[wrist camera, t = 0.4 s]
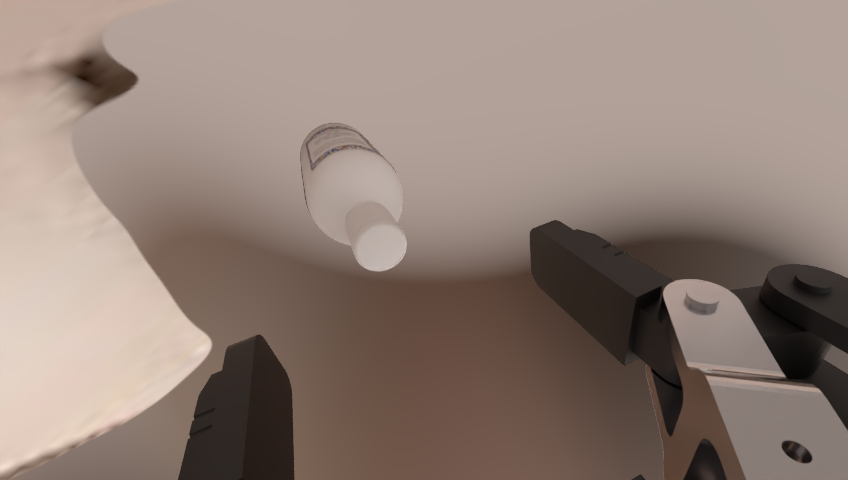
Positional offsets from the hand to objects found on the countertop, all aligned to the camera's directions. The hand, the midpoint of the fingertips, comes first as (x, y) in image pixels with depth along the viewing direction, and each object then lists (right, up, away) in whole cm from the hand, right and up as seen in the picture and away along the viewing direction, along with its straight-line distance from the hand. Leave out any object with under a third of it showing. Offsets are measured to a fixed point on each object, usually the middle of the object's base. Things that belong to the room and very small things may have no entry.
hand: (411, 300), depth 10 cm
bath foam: (-9, +10, +25) cm, 29 cm away
